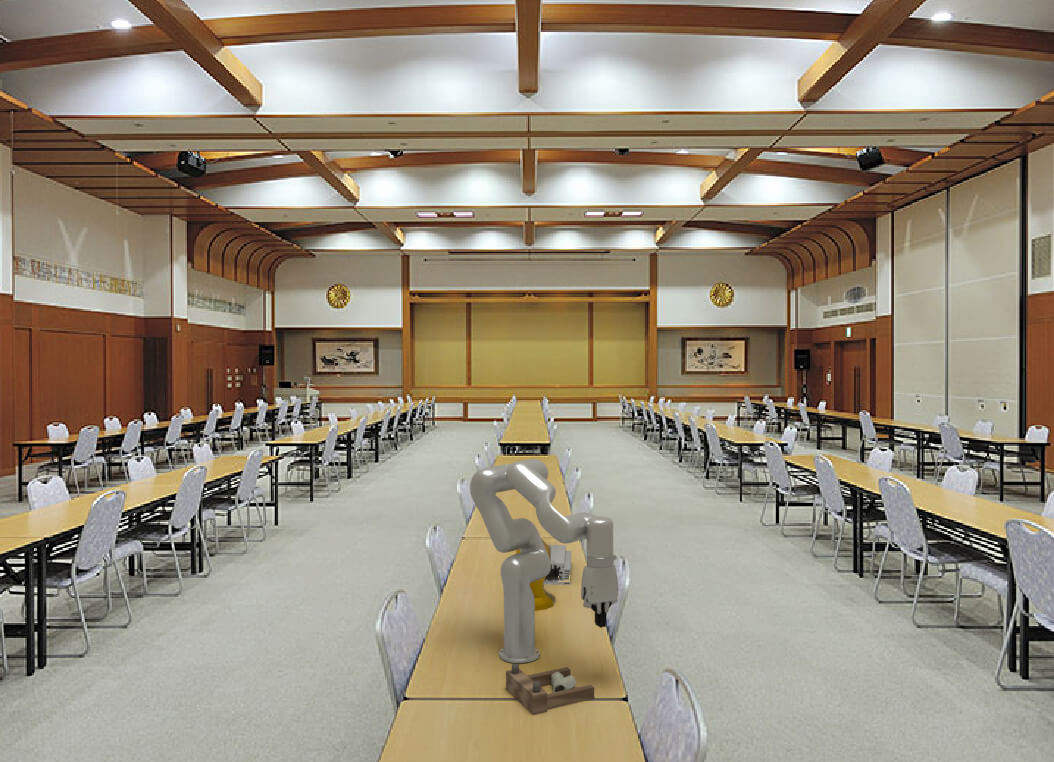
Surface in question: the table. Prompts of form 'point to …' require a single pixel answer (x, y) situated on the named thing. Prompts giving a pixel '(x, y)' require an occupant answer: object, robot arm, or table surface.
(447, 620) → the table surface
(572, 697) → the bench jig
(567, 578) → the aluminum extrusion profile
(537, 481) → the robot arm
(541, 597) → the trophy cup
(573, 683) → the pipe fitting
